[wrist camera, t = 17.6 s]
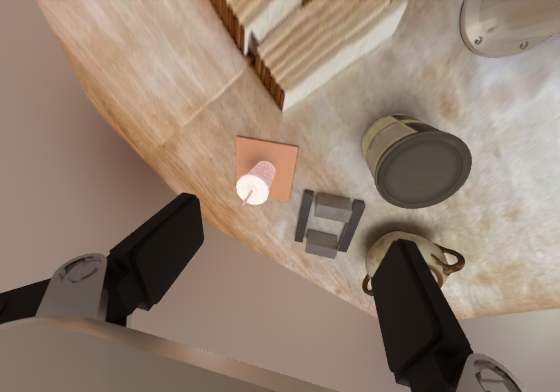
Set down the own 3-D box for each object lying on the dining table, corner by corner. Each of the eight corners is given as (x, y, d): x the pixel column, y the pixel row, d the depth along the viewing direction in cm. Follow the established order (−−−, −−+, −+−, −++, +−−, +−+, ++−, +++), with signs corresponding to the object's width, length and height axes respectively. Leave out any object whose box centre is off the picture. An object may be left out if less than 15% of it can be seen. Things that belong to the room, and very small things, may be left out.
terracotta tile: (298, 146, 40) (298, 147, 39) (289, 199, 47) (289, 201, 46) (237, 135, 42) (235, 136, 41) (237, 189, 48) (236, 190, 48)
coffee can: (424, 105, 33) (479, 121, 21) (421, 163, 37) (466, 203, 25) (357, 121, 36) (372, 143, 24) (362, 173, 40) (377, 213, 28)
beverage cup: (270, 188, 45) (250, 227, 34) (247, 173, 45) (218, 208, 33) (284, 167, 42) (267, 202, 30) (259, 151, 42) (232, 181, 30)
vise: (363, 201, 43) (367, 214, 39) (345, 246, 51) (347, 262, 47) (304, 189, 45) (302, 201, 41) (295, 235, 52) (292, 249, 48)
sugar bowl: (374, 276, 54) (388, 337, 41) (340, 242, 50) (345, 297, 38) (455, 247, 45) (506, 314, 32) (421, 202, 41) (464, 258, 28)
